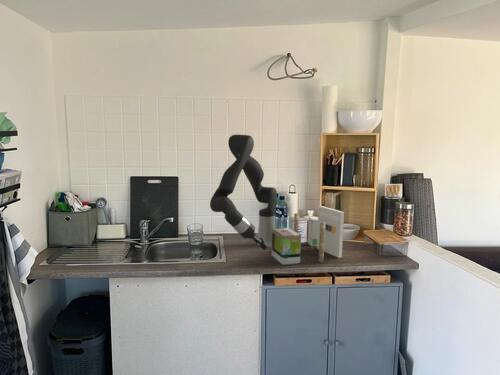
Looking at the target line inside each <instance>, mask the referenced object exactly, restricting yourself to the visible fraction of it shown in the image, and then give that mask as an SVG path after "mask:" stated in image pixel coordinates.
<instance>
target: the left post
mask: <svg viewBox="0 0 500 375" xmlns="http://www.w3.org/2000/svg"><path fill="white" fill-rule="evenodd" d="M293 217H294V218H293V219H294V220H293V230H294V231H295V232H297V233H299V231H300V230H299V228H300V227H299V224H300V223H299V222H300V214H299V213H297V212H296V213H294V215H293Z"/></svg>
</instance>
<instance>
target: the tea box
mask: <svg viewBox="0 0 500 375" xmlns="http://www.w3.org/2000/svg"><path fill="white" fill-rule="evenodd" d="M301 243H302V234H301V233H300V232H298V233H297V232H295V231H294V229H292V228H290V227H282V228H281V227H279V228H275V229H272V246H271V256H272V257H273V258H274V259H275V260H276V261H278V263H280V264H281V265H295V264H300V263H301V252H302V251H301V250H302V249H301V248H302V247H301V246H302V244H301Z"/></svg>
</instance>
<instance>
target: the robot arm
mask: <svg viewBox="0 0 500 375" xmlns="http://www.w3.org/2000/svg"><path fill="white" fill-rule="evenodd" d="M227 141H228V147H229V151H230V152H231V154H232V156H233V157H234V158H235V160H234V162H233V163H232V164H231V165H230V166H228V167H227V169H226V170H225V171H224V173H223V174H222V177H221V179H220V182H219V184H218V187H217V188H216V190H215V192H214V193H213V194H212V197H211V198H210V203H209V208H210V209H211V211H213V212H214V213H223V214H224V219H225V221H226V222H227V223H228V224H229V225H230V226H231V227H232V228H233V229H234V231H236V232H237V234H239V235H240V236H241V237H242V238H243V239H248V240H250V241H252V243H254V244H256V245H257V246H259V248H261V250H263V251H266V249H267V248H268V247H269V248H270V247H271V248H272V229H276V212H277V200H278V199H277V198H278V191H277V188H275V187H271V186H270V187H269V186H263V185H262V182H263V179H264V177H265V174H264V169H263V168H262V166H261V164H260V162H258V160H256V159H255V158H254V157H253V156H251V154H252V152H253V150H254V146H255V144H254V143H255V142H254V139H253V137H252V135H249V134H231V136H230V137H229V139H228V140H227ZM242 171H243V173H244V175H245V177H246V178H247V180H248V182H249V183H250V186H251V188H252V190H253V194H254V195H255V198H256V200H257V201H258V202H259V203H262V204H266V205H267V207H264V208H261V209H260V210H258V227H257V228H258V229H257V232H256V227H255V225H254V224H253V223H251V222H250V221H249V220H248V219H247V217H245V216H244V215H243V214H242V213H241V212H240V211H239V210H238V209H237V207H236V205H235V204H234V202H233V201H232V200H231V198H229V197H228V196H229V195H231V194H233V193H234V190H235V187H236V185H237V182H238V181H239V180H238V179H239V177H240V174H241V172H242Z"/></svg>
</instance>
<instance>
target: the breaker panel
mask: <svg viewBox="0 0 500 375" xmlns="http://www.w3.org/2000/svg"><path fill="white" fill-rule="evenodd" d="M317 209H318V212H317V215H318V216H317V217H318V232H317V246H316V249H318V250H319V240H320V222H324V223H325V243H324V253H327V254H329V255H331V256H333V257H335V258H338V259H340V258H343V240H344V239H343V238H344V220H345V212H344V211H341V210H338V209H334V208H330V207H327V206H323V205H318V208H317Z"/></svg>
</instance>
